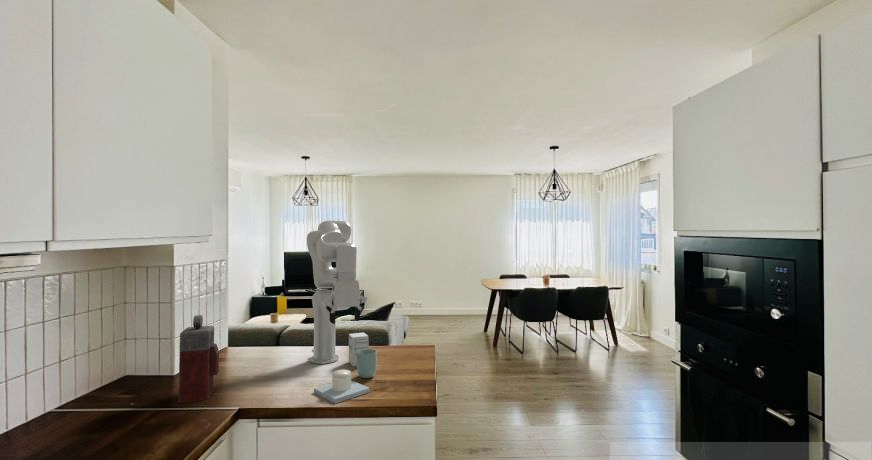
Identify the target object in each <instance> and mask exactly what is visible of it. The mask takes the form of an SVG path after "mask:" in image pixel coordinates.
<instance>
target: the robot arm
mask: <svg viewBox="0 0 872 460" xmlns="http://www.w3.org/2000/svg"><path fill="white" fill-rule="evenodd" d="M351 236H352V227H351V225H350V223H349V222H348V221H346V220H323V221H322V222H320V223H319V225H318V227H317V230H313V231H310V232H309V233H308V234H307V235H306V246H307V251H308V253H309V255H310V257H311V262H312V273H313V281H314V285H315V288H317V289H324V290H318V291H316V292H314V294H313V295H312V297H311V298H312V299H311V302H312V304H311V305H312V311H313V349H311V352H312V354H313V355H312V356H311V357H310V358H309V362H310V363H312V364H317V365H322V364H323V365H325V364H331V363H335V362H337V361H338V360H339V357H340V356H339V355H338V354H336V327H337V325H336V324H337V323H336V311H344V310H346V311H347V310H348V309H350V308H352V307H353V308H354V307H355V309H354V320H356V321H357V322H358V321H360V319H361V311H362V309H363V308H364V306H365V304H366V302H367V300H368V298H367V297H366V296H364V295H361V291H360V289H361V288H360V282H359V279H357V255H358V254H357V246H356V244H353V243H351V242H348V241H349V239H350V238H351ZM334 262H335V267H333V266H332V263H334ZM325 289H326V290H325Z"/></svg>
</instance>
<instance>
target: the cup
mask: <svg viewBox="0 0 872 460" xmlns="http://www.w3.org/2000/svg"><path fill="white" fill-rule="evenodd" d="M377 364H378V351H377V349H373V348H368V349H363V350H359V351H357V366H356V373H357V375H358V376H359V377H360V378H362V379H370V378H373V377H374V376H375V374H376V372H377Z"/></svg>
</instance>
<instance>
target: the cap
mask: <svg viewBox="0 0 872 460" xmlns="http://www.w3.org/2000/svg"><path fill="white" fill-rule="evenodd" d="M331 377H332V378H331V379H332V381H331V383H332V390H333V391H337V392H340V391H347V390H349V389H351V380H352V370H349V369H337V370H334V371H332V376H331Z"/></svg>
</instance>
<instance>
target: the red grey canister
mask: <svg viewBox="0 0 872 460" xmlns="http://www.w3.org/2000/svg"><path fill="white" fill-rule="evenodd" d="M203 322H204V321H203V315H202V314H199V315H198V314H196V315H194V316H193V320H192V326H188V327H186V328H185V329H184V330H183V331H181V332H180V334H179V362H178V363H179V364H178V365H179V366H178V369H179V370H178V399H177V400H178V402H177V403H180V404H181V403H188V402H197V401H204V400H209V399H210V397H211V395H212V393H213V391H214V376H217V375H218V374H219V371H220V370H219V369H220V350H219V347H218V345H217V343H215V326H214V325H203Z"/></svg>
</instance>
